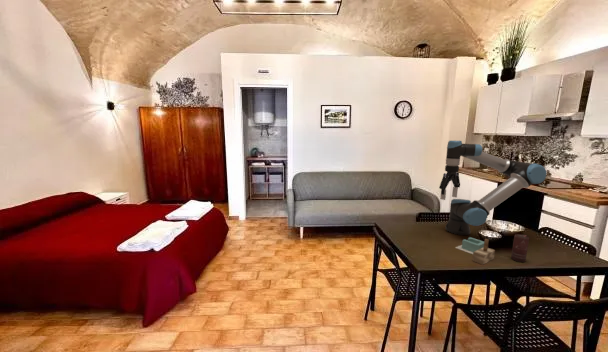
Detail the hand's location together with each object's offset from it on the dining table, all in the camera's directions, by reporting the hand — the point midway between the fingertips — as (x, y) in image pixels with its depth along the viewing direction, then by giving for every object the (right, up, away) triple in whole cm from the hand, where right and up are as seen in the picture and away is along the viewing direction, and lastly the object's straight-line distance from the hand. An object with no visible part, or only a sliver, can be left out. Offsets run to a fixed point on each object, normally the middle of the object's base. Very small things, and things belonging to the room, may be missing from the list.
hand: (448, 198), depth 166 cm
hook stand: (+4, -31, -26) cm, 41 cm away
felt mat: (+7, -29, -13) cm, 33 cm away
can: (+24, -32, -25) cm, 47 cm away
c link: (+7, -29, -13) cm, 33 cm away
